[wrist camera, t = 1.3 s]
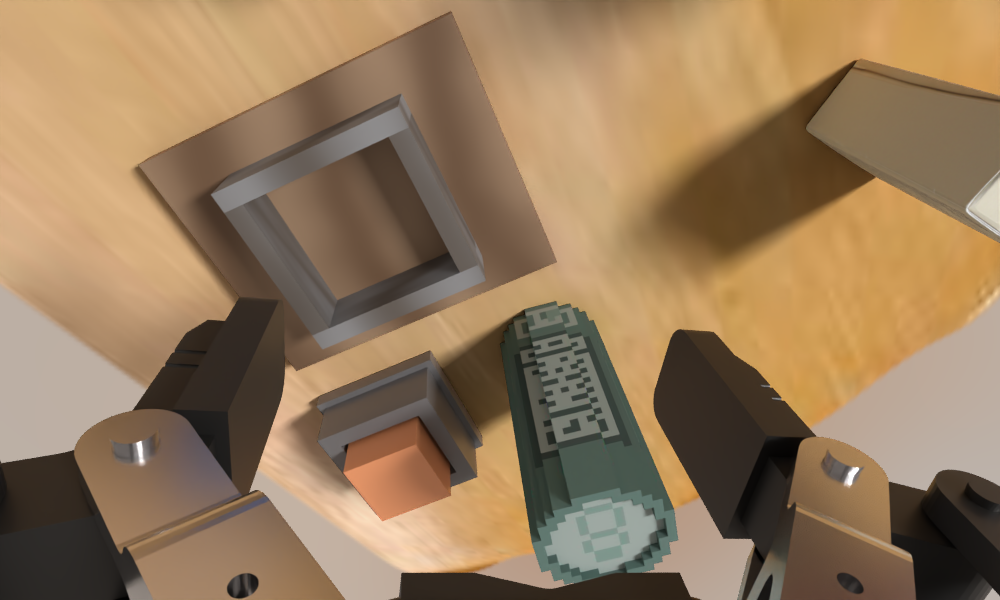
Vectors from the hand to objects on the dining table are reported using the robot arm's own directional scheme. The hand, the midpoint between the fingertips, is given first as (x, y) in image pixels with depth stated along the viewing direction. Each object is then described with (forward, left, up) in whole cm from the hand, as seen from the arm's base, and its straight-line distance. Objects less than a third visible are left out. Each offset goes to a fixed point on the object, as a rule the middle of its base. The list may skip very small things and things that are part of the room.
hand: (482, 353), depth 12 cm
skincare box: (-20, +10, -22) cm, 31 cm away
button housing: (+12, +17, -21) cm, 29 cm away
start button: (+12, +17, -18) cm, 27 cm away
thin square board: (+7, +3, -22) cm, 23 cm away
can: (+1, +16, -22) cm, 27 cm away
